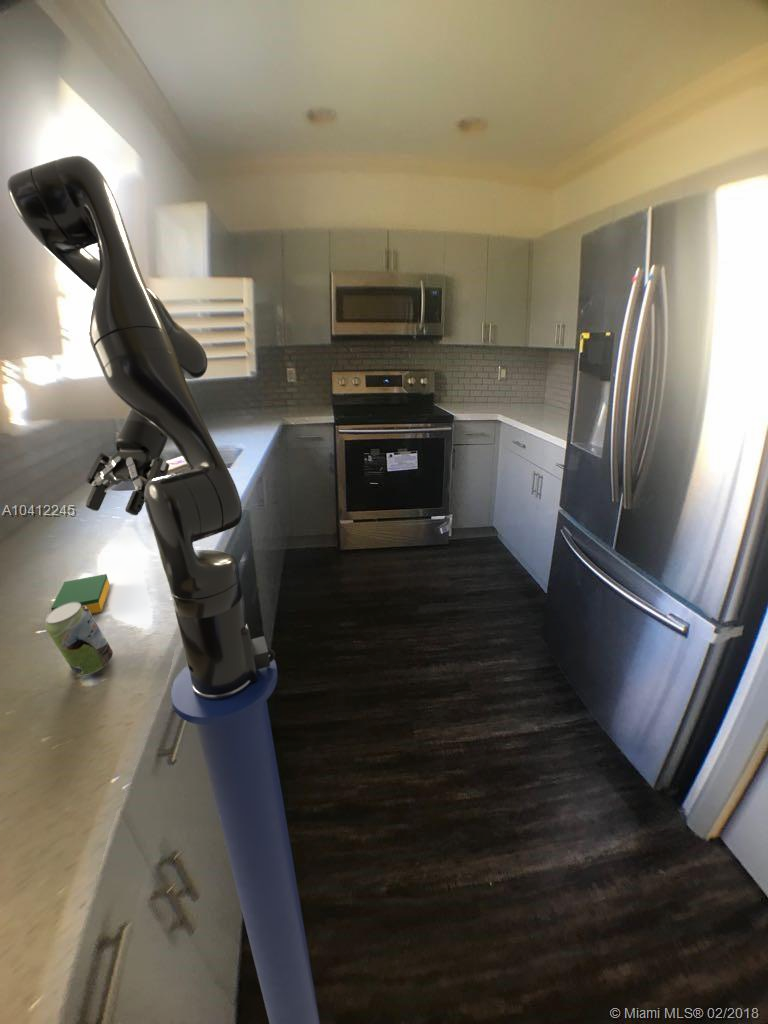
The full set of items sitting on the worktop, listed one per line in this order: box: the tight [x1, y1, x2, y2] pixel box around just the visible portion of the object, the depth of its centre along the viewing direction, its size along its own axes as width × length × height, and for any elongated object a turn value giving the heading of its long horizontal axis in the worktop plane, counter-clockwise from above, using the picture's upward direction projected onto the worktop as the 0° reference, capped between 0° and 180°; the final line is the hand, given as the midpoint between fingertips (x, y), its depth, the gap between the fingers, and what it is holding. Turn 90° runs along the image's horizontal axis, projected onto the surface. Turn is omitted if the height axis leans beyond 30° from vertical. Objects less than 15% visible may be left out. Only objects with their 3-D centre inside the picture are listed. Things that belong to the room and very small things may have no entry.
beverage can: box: [45, 602, 114, 676], centre depth 74 cm, size 6×7×12 cm
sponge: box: [50, 573, 111, 615], centre depth 95 cm, size 8×11×3 cm
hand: (111, 511), depth 78 cm, fingers open, 8 cm apart
